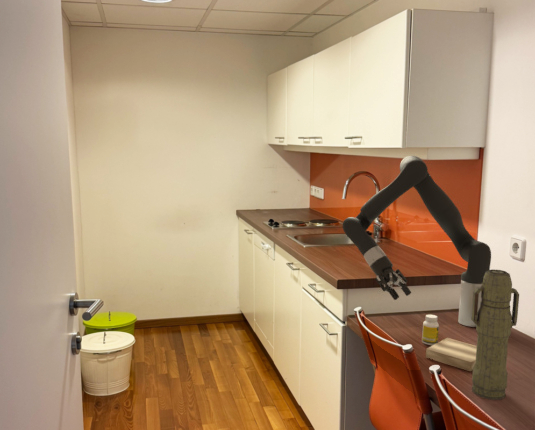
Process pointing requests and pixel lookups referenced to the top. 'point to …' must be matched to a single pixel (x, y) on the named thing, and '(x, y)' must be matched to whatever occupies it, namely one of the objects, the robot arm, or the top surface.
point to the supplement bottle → (430, 330)
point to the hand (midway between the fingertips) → (403, 296)
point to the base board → (453, 353)
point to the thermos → (493, 333)
